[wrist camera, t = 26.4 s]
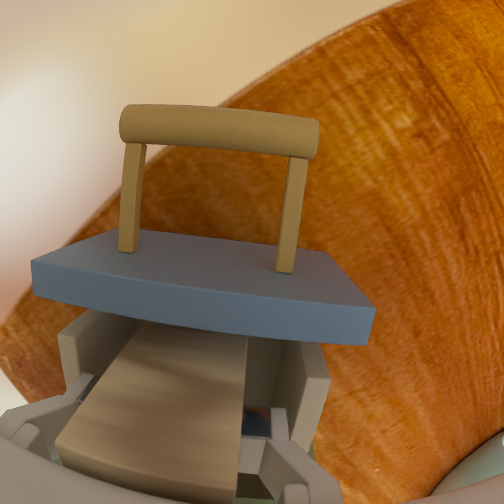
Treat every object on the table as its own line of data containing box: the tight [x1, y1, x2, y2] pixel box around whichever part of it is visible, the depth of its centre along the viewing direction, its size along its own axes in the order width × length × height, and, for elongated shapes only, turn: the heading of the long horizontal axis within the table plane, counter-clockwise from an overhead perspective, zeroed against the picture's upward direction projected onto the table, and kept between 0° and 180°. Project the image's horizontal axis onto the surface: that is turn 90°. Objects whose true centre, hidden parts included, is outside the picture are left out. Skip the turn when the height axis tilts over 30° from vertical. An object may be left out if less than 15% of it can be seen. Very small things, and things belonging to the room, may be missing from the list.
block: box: [54, 320, 248, 504], centre depth 9 cm, size 4×4×7 cm
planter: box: [430, 431, 504, 496], centre depth 18 cm, size 19×7×16 cm
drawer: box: [31, 104, 376, 500], centre depth 13 cm, size 18×10×7 cm, turn 173°
